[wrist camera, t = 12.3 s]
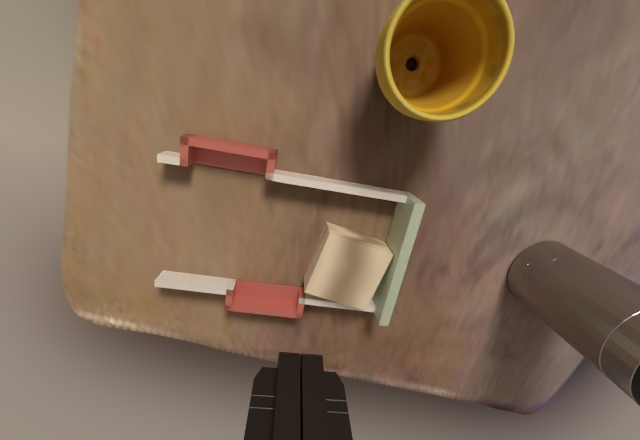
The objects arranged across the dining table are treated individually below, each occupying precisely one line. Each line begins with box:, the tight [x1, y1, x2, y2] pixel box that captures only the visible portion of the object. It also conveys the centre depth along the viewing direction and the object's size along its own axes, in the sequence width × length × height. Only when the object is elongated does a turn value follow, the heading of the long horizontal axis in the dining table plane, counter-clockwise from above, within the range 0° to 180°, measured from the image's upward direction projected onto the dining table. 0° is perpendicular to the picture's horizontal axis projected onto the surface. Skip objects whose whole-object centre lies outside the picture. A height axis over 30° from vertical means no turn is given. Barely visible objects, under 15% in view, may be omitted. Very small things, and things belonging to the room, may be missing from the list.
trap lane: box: [155, 134, 426, 326], centre depth 37 cm, size 28×20×5 cm
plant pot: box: [375, 0, 515, 122], centre depth 29 cm, size 10×10×10 cm
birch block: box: [304, 222, 393, 311], centre depth 39 cm, size 8×8×4 cm
